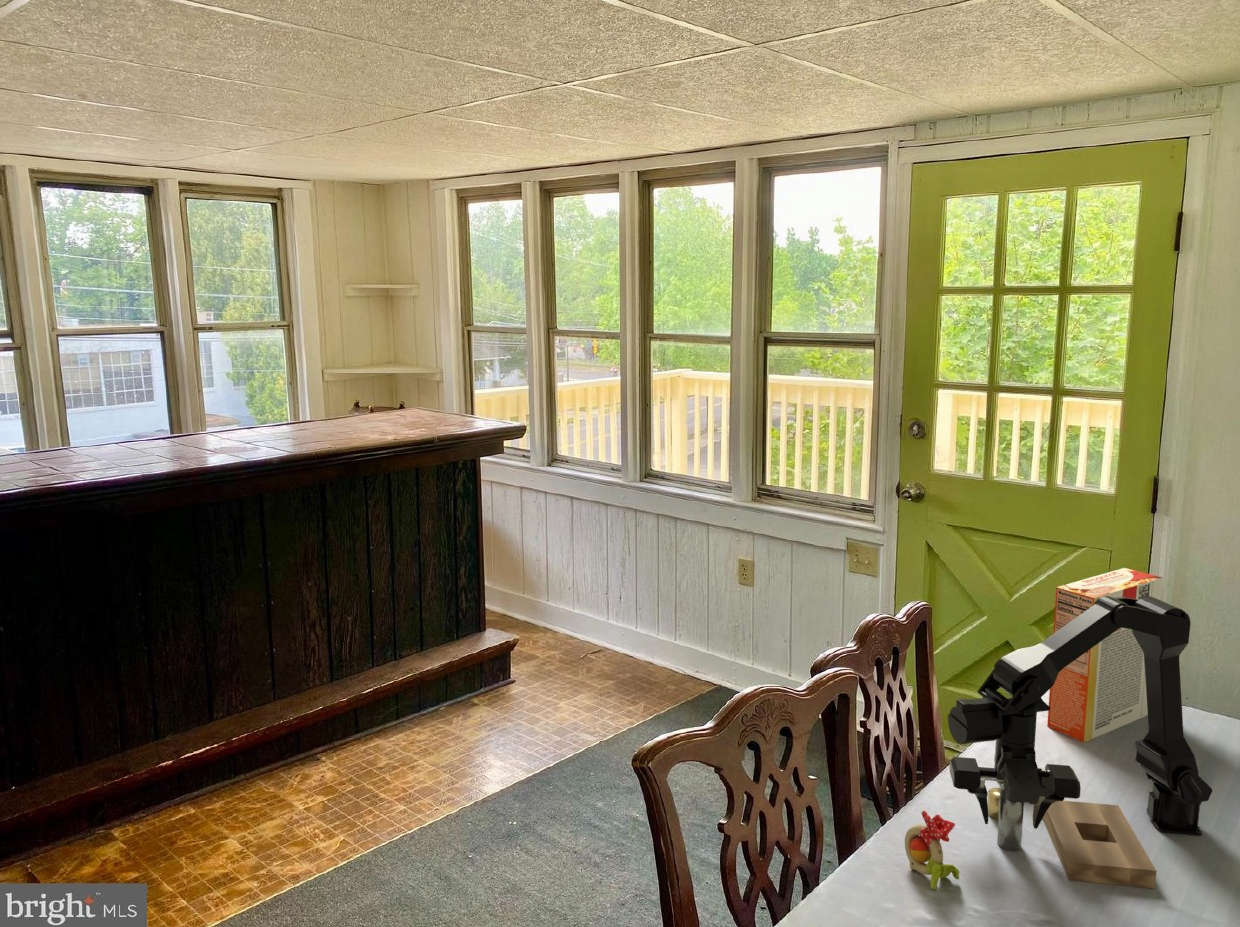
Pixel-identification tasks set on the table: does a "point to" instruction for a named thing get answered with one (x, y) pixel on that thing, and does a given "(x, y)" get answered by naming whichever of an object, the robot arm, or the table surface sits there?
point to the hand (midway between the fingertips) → (1010, 825)
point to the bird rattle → (929, 848)
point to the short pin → (993, 803)
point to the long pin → (1009, 823)
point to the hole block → (1098, 844)
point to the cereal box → (1101, 661)
